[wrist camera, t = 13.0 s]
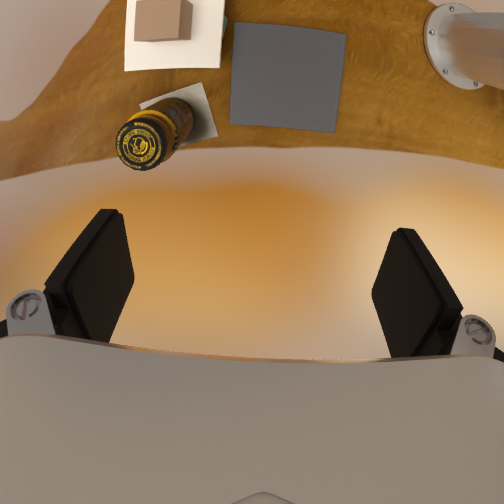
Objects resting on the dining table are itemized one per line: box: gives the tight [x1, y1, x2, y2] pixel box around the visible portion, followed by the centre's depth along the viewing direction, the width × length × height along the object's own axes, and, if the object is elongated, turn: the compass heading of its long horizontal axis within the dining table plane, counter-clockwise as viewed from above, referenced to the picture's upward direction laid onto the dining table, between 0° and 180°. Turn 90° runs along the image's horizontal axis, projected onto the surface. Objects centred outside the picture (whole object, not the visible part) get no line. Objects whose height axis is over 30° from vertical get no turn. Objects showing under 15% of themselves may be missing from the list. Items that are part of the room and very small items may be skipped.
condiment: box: [116, 82, 218, 171], centre depth 31 cm, size 7×8×12 cm
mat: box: [229, 22, 347, 133], centre depth 33 cm, size 13×13×1 cm
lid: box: [125, 0, 225, 71], centre depth 22 cm, size 10×10×6 cm
